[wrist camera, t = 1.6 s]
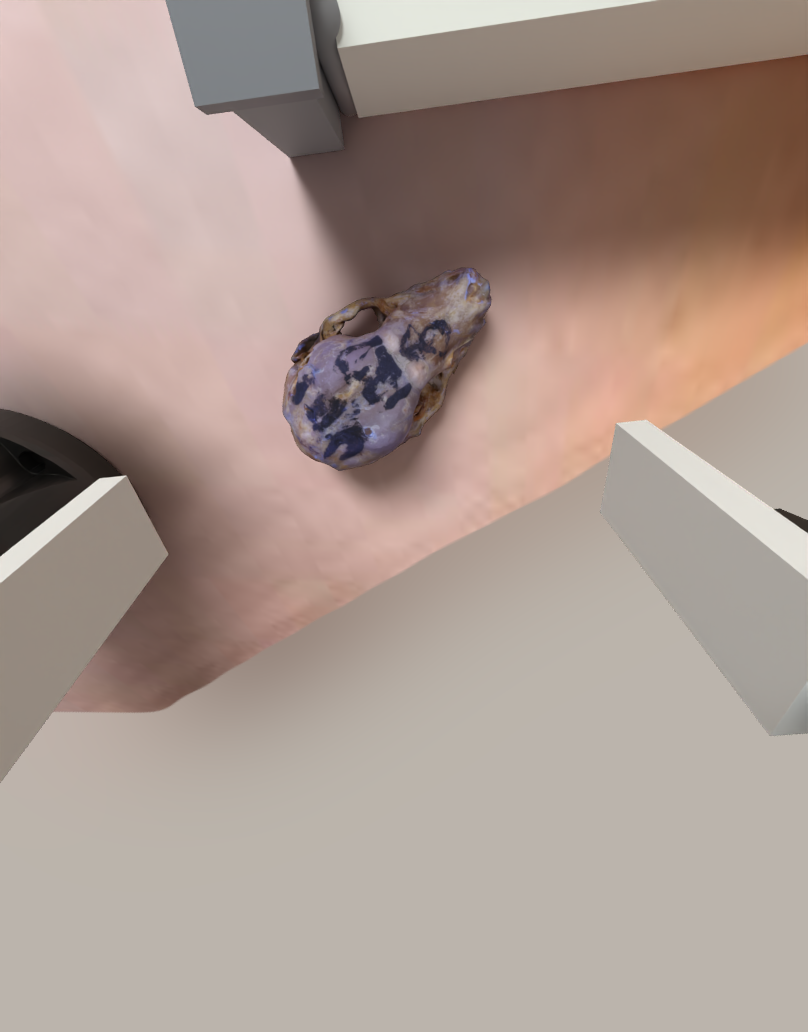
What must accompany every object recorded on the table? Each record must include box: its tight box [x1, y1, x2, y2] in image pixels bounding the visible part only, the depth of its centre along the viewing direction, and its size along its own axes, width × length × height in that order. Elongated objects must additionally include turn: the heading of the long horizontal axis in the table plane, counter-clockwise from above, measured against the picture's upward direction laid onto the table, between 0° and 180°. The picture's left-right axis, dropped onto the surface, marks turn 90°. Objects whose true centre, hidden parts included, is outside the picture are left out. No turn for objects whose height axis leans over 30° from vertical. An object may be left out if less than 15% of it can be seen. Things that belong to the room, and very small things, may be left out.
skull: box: [282, 268, 491, 471], centre depth 21 cm, size 12×8×6 cm, turn 122°
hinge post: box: [166, 0, 345, 157], centre depth 14 cm, size 3×4×10 cm
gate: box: [309, 0, 808, 118], centre depth 14 cm, size 22×2×8 cm, turn 96°
